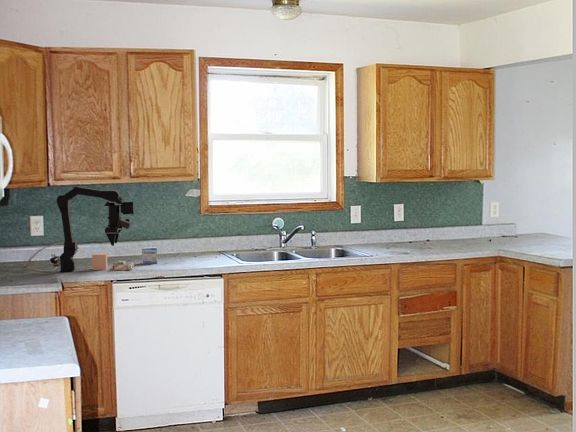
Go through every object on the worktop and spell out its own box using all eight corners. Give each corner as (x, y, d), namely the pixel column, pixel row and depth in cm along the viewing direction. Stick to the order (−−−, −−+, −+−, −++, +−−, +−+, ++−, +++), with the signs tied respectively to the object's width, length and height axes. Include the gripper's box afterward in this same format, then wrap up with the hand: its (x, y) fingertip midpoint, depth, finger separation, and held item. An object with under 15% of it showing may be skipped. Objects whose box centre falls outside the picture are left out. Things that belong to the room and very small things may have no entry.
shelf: (111, 271, 354) (111, 266, 354) (115, 267, 365) (115, 262, 365) (131, 270, 355) (130, 265, 354) (134, 266, 366) (134, 261, 365)
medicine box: (142, 264, 372) (142, 248, 371) (142, 263, 376) (141, 247, 375) (157, 263, 374) (157, 247, 373) (156, 262, 378) (156, 246, 377)
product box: (92, 270, 357) (91, 254, 356) (94, 268, 361) (93, 253, 360) (106, 269, 358) (105, 254, 357) (107, 268, 362) (107, 253, 361)
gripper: (126, 216, 346) (127, 247, 348) (132, 212, 364) (132, 241, 366) (104, 216, 345) (104, 247, 347) (111, 212, 364) (111, 241, 365)
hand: (114, 244), depth 356 cm, fingers open, 9 cm apart
